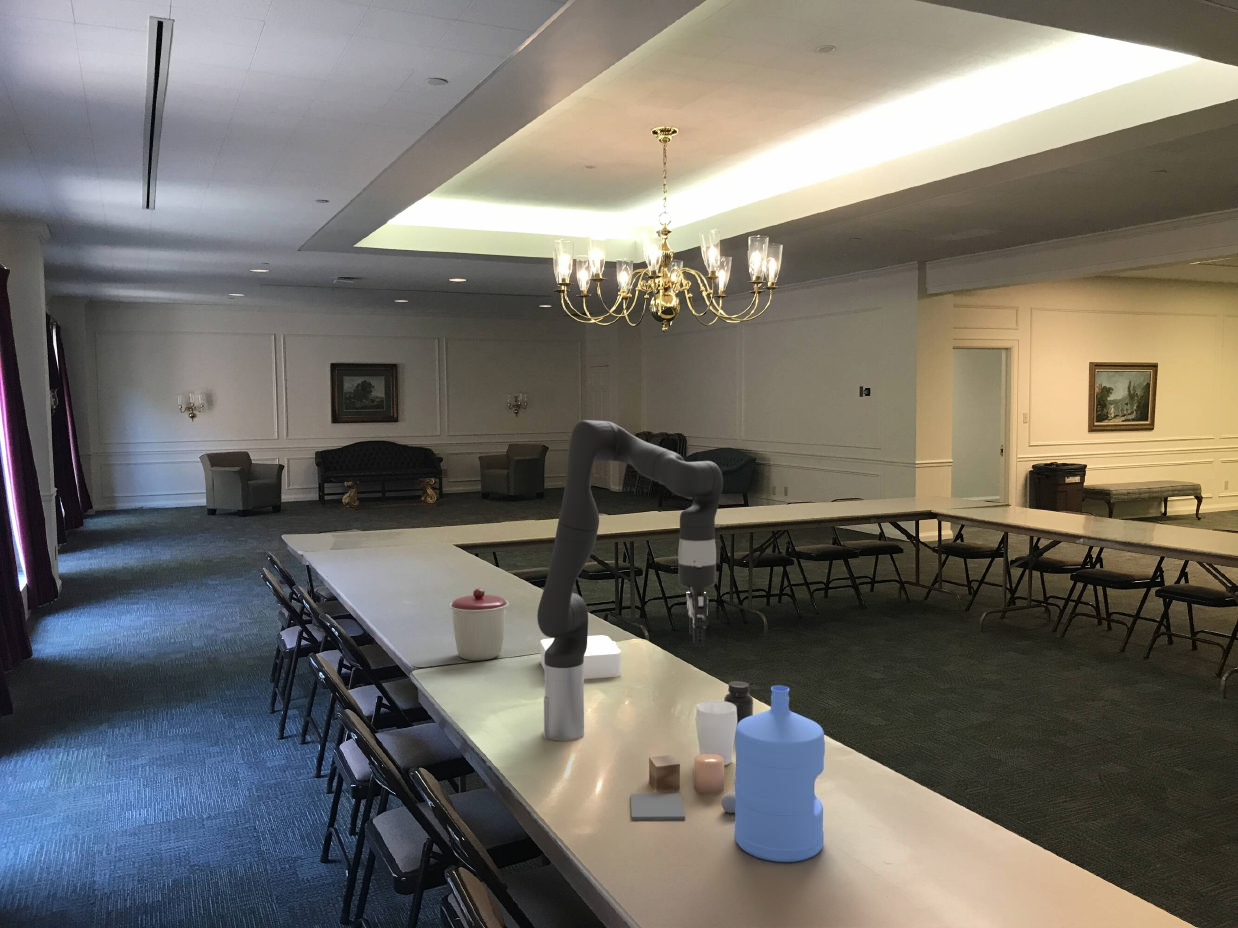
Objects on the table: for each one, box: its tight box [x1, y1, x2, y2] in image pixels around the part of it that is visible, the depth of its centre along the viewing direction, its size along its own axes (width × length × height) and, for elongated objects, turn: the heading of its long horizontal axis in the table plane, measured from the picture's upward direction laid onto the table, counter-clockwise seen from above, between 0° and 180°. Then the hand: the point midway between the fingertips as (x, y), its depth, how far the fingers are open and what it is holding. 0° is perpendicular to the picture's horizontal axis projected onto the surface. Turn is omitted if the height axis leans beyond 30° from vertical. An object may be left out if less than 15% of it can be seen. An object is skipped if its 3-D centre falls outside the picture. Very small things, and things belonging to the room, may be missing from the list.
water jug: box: [734, 685, 826, 863], centre depth 161 cm, size 16×16×28 cm
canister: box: [448, 588, 509, 661], centre depth 280 cm, size 18×18×21 cm
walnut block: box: [648, 754, 681, 791], centre depth 187 cm, size 5×5×5 cm
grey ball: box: [720, 792, 736, 814], centre depth 174 cm, size 4×4×4 cm
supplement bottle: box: [723, 680, 754, 735], centre depth 215 cm, size 7×7×12 cm
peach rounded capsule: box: [693, 753, 725, 795], centre depth 185 cm, size 6×6×6 cm
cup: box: [695, 699, 737, 766], centre depth 199 cm, size 9×9×12 cm
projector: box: [540, 634, 622, 680], centre depth 268 cm, size 21×22×7 cm
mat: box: [630, 792, 686, 821], centre depth 176 cm, size 10×10×1 cm
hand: (697, 640), depth 184 cm, fingers open, 8 cm apart
